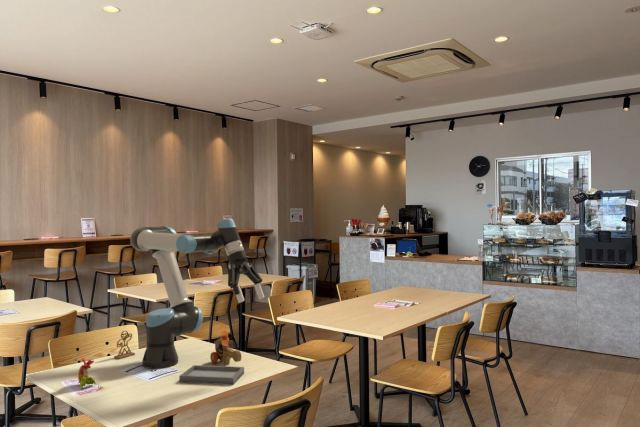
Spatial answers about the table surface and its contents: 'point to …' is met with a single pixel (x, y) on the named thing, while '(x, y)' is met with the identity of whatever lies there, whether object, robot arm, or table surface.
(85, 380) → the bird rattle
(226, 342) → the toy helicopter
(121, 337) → the wire human figurine
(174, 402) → the table surface
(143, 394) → the table surface
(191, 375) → the gray tray
